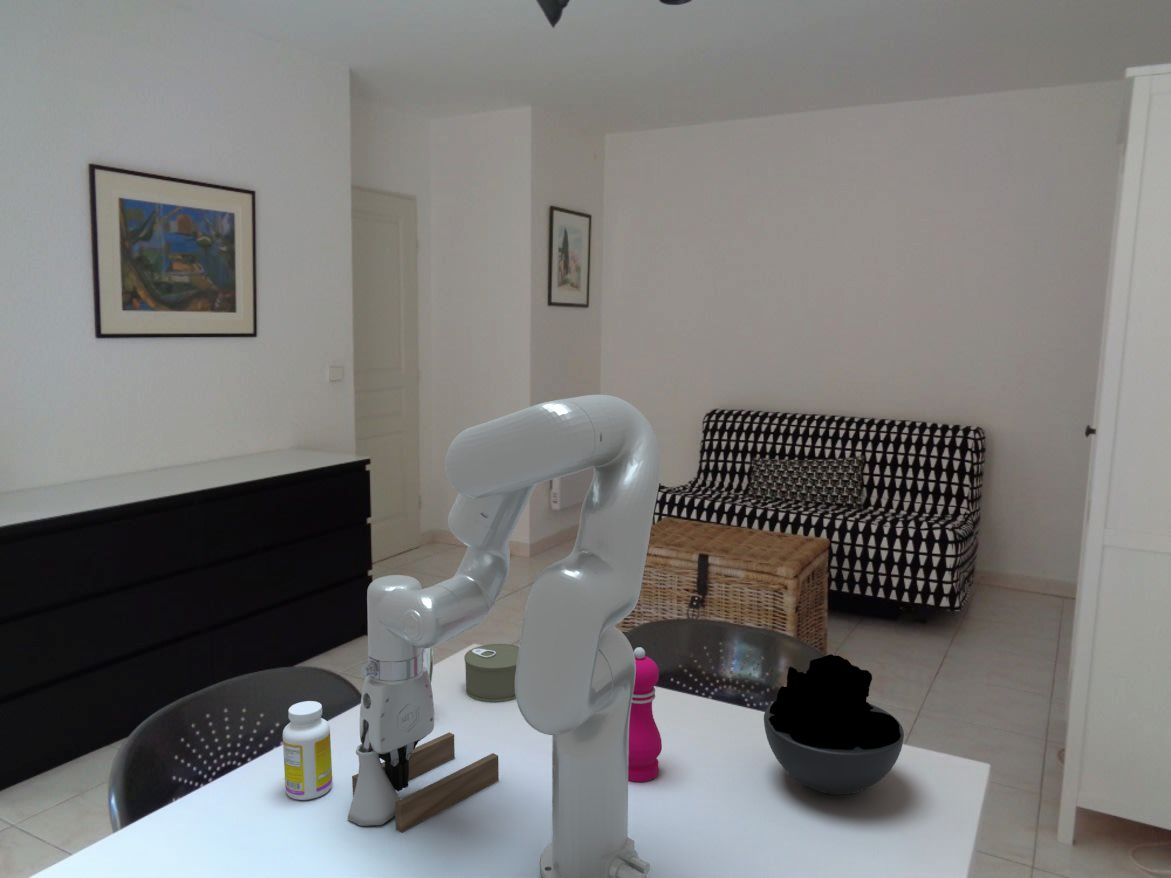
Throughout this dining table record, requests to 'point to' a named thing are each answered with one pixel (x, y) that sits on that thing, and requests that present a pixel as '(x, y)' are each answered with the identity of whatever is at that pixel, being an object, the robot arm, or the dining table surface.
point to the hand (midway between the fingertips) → (397, 785)
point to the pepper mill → (643, 722)
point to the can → (491, 672)
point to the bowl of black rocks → (832, 728)
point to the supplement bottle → (307, 752)
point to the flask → (372, 792)
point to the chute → (440, 782)
